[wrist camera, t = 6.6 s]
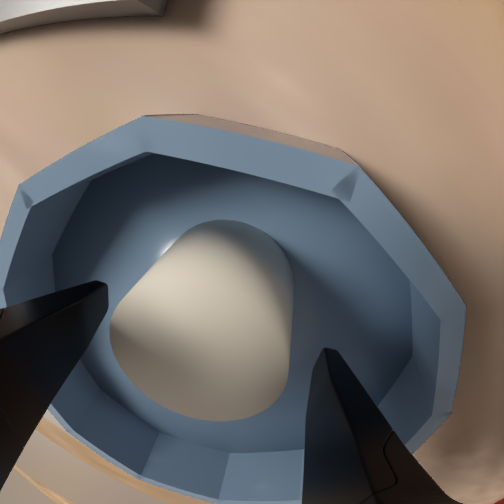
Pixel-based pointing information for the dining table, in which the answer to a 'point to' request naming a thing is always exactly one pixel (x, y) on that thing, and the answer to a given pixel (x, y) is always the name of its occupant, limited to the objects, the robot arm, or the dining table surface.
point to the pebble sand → (210, 323)
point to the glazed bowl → (304, 305)
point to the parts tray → (71, 11)
